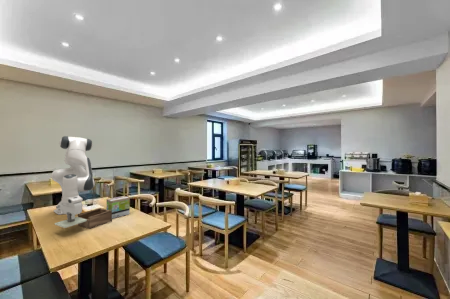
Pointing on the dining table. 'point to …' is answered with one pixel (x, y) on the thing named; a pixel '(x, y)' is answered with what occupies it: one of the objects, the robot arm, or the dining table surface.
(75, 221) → the lid
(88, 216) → the caddy
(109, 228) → the dining table surface
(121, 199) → the tea box
